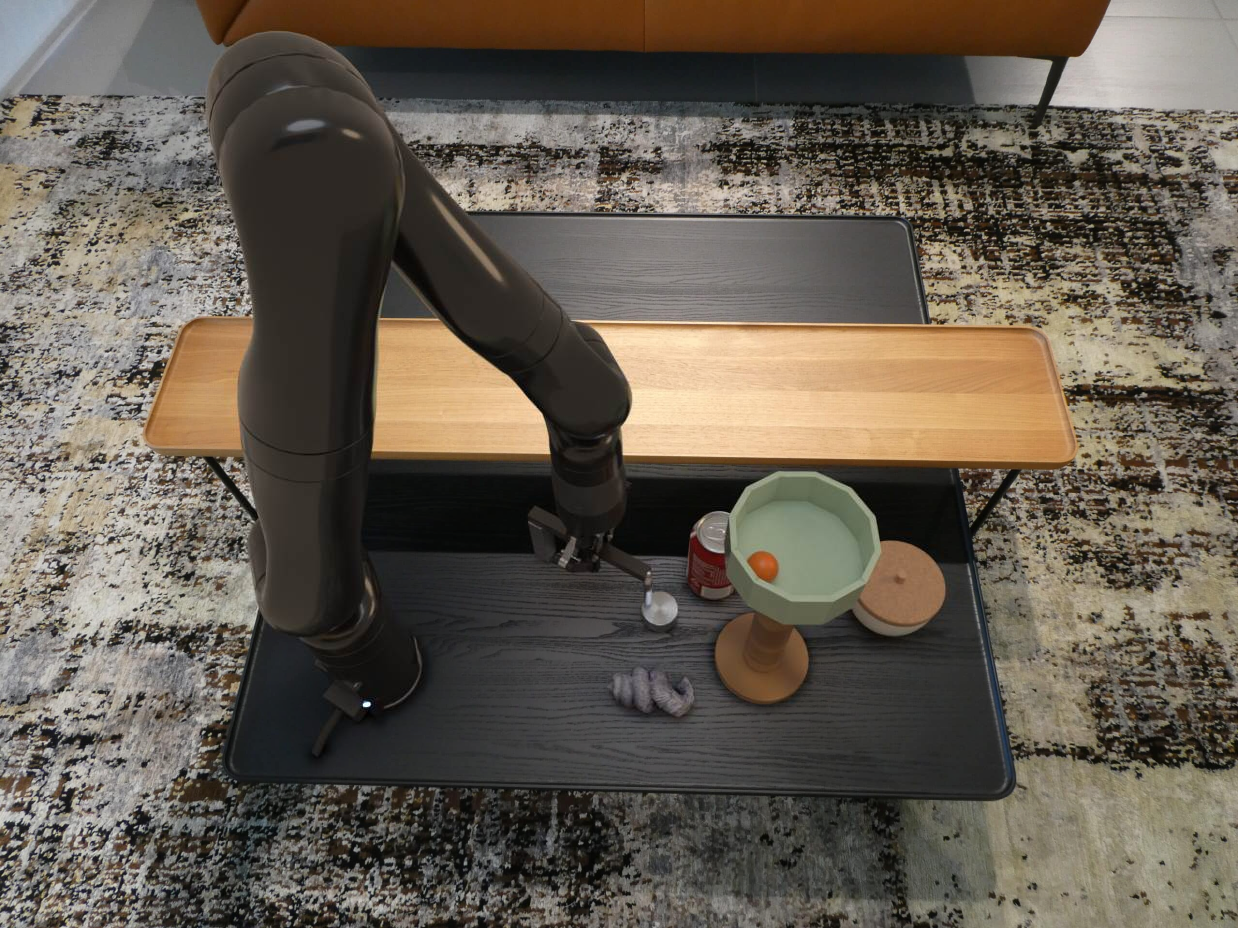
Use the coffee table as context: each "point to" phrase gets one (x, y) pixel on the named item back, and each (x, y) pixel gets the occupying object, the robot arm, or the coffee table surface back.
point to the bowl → (802, 546)
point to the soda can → (709, 557)
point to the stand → (761, 658)
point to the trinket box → (900, 591)
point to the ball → (764, 565)
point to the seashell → (652, 691)
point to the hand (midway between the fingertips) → (596, 559)
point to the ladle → (655, 606)
